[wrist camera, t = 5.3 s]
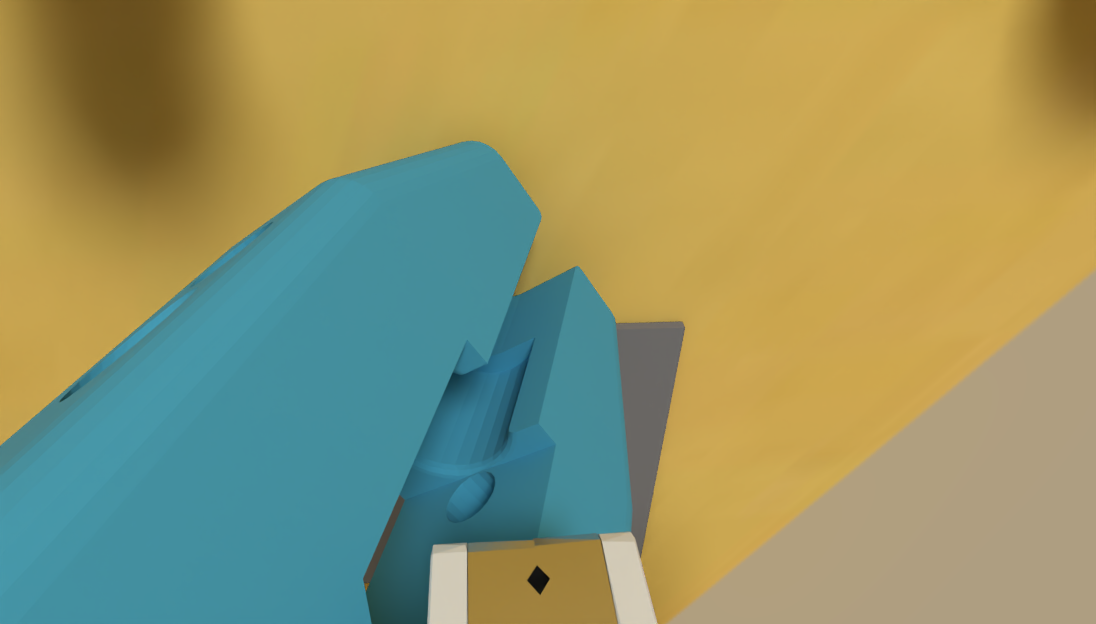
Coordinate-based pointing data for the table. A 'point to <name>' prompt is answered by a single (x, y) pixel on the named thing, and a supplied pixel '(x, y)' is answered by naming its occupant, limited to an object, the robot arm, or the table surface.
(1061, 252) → the table surface
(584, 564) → the robot arm
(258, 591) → the block
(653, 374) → the mat
